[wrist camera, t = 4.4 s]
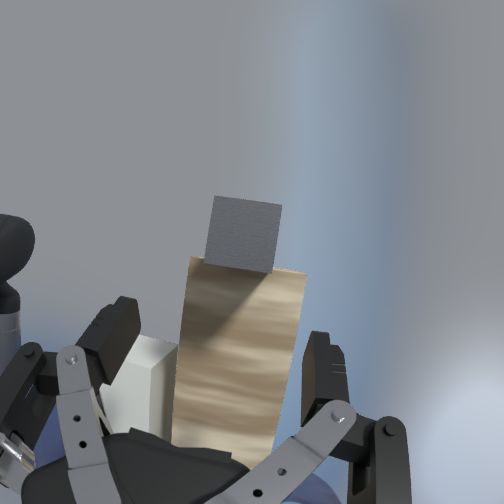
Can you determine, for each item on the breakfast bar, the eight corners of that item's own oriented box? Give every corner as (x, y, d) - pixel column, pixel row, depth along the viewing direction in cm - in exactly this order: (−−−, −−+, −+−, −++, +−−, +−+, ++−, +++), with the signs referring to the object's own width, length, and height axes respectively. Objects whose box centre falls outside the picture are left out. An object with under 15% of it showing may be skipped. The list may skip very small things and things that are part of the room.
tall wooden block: (249, 527, 25) (306, 274, 25) (169, 511, 25) (190, 256, 26) (254, 474, 36) (295, 270, 37) (190, 462, 37) (215, 257, 38)
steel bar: (271, 273, 17) (282, 205, 17) (203, 263, 18) (214, 195, 18) (271, 266, 38) (276, 235, 38) (239, 261, 38) (244, 230, 39)
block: (150, 506, 25) (151, 368, 26) (108, 490, 26) (98, 352, 26) (169, 469, 34) (178, 344, 35) (132, 457, 35) (134, 333, 35)
